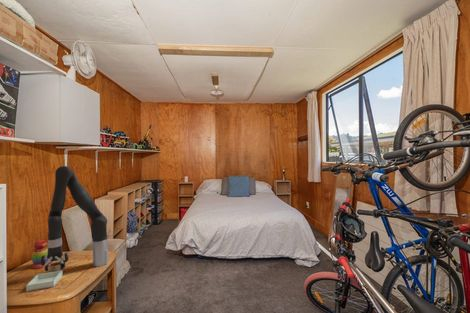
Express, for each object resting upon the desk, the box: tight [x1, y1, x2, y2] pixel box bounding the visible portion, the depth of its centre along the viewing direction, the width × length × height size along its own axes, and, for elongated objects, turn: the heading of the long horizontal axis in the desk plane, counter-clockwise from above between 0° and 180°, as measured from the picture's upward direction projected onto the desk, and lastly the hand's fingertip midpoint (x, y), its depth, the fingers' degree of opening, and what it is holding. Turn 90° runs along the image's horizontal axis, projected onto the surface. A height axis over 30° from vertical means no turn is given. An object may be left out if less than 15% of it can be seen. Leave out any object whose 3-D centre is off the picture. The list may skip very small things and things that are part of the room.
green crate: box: [25, 270, 64, 293], centre depth 136 cm, size 13×13×4 cm
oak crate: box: [47, 261, 64, 273], centre depth 148 cm, size 6×6×6 cm
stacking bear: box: [31, 238, 54, 270], centre depth 160 cm, size 11×10×18 cm
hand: (55, 269), depth 148 cm, fingers open, 8 cm apart
